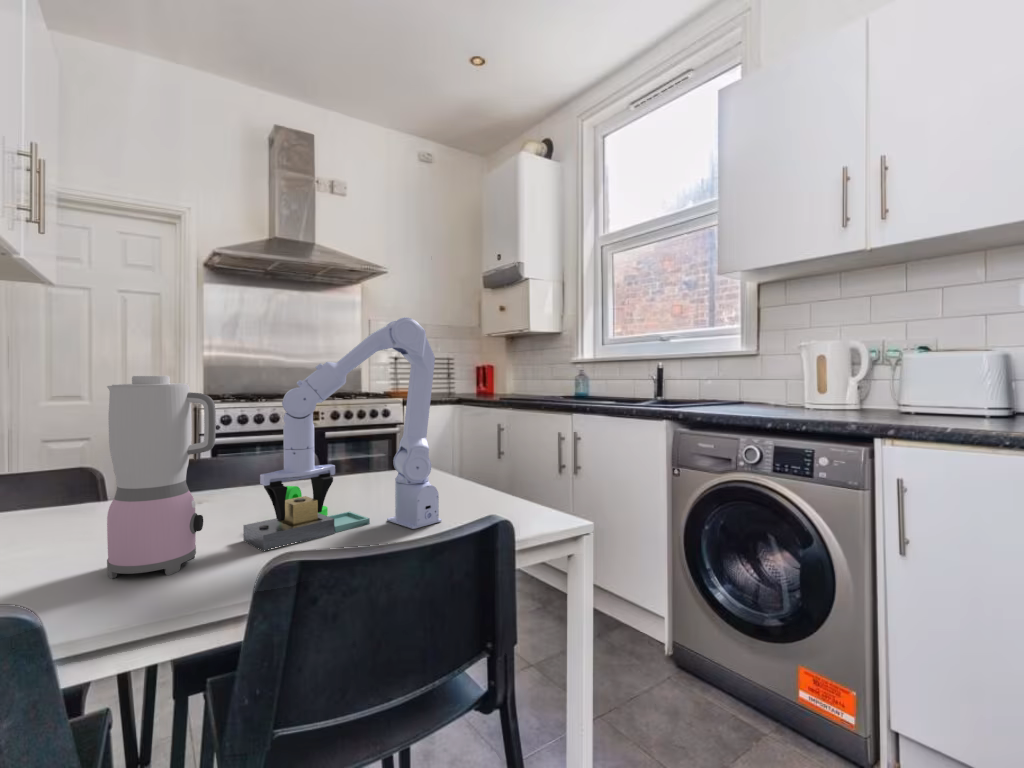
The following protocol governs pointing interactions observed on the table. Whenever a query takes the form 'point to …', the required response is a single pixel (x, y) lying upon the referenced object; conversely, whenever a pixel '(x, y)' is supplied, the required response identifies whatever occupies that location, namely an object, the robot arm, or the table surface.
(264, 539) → the grey slotted block
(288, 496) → the mechanical part
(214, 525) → the table surface
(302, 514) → the block
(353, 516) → the tray
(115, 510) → the blender
